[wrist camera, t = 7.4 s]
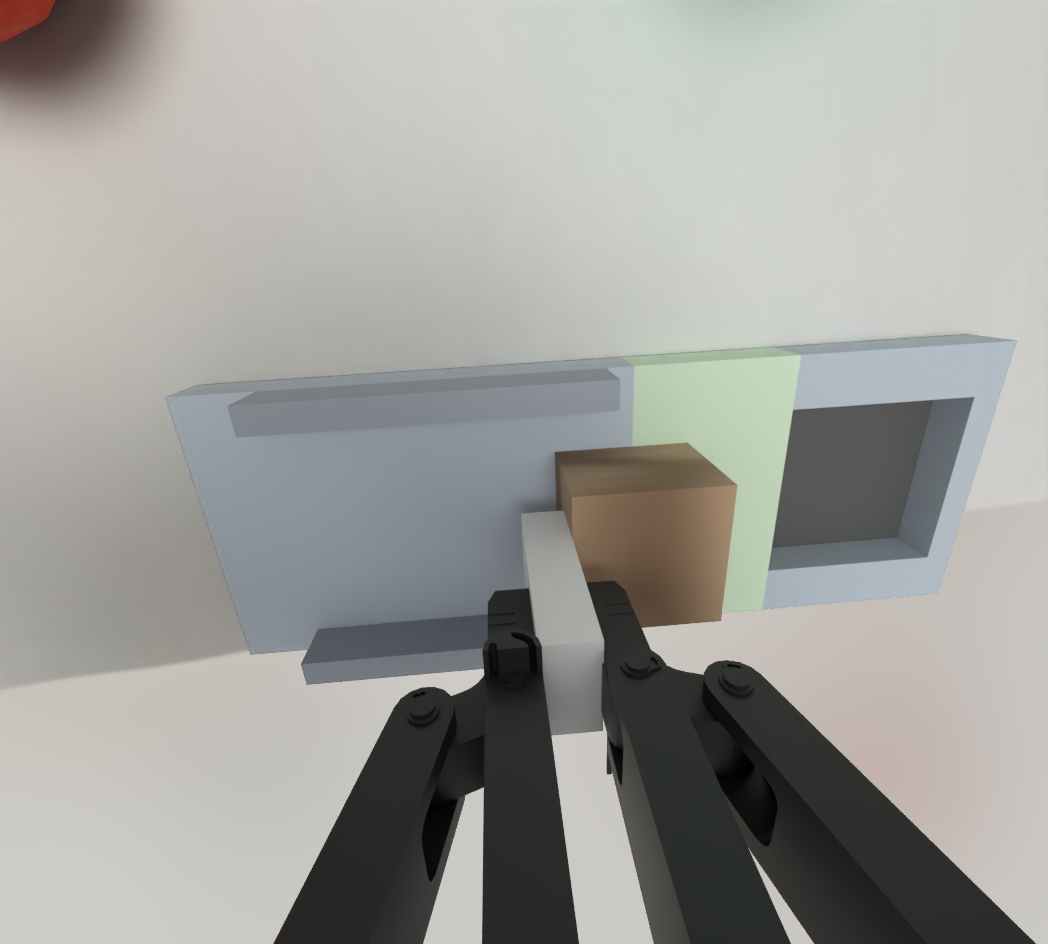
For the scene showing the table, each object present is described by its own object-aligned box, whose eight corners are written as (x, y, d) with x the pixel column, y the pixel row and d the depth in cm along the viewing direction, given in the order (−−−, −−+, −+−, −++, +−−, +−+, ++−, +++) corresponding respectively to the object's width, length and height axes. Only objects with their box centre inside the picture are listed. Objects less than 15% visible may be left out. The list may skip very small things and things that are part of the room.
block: (558, 567, 20) (573, 633, 16) (554, 451, 18) (571, 497, 15) (678, 557, 20) (720, 620, 17) (687, 442, 19) (737, 485, 15)
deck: (270, 623, 23) (227, 691, 19) (197, 385, 19) (124, 413, 15) (902, 569, 24) (978, 623, 20) (967, 334, 20) (1078, 348, 16)
